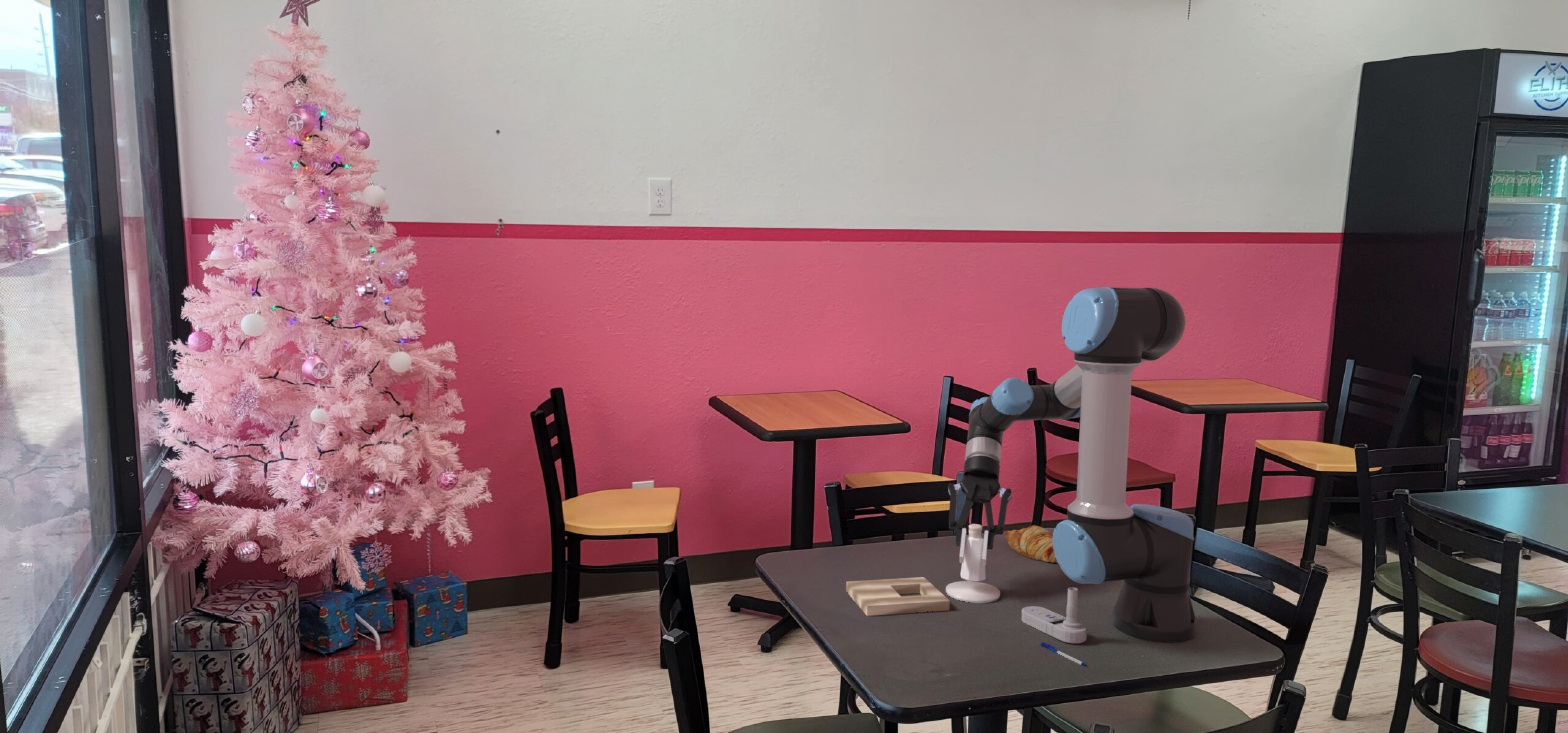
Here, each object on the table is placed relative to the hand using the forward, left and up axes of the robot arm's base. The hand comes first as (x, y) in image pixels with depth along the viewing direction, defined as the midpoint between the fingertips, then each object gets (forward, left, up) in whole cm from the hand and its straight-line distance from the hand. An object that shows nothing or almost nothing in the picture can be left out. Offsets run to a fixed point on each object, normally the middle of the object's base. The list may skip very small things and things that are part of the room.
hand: (972, 560), depth 207 cm
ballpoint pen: (-29, -5, -9) cm, 31 cm away
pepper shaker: (+3, -2, -5) cm, 6 cm away
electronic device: (-18, -9, -9) cm, 22 cm away
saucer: (+3, -2, -8) cm, 9 cm away
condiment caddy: (+2, +15, -8) cm, 17 cm away
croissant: (+25, -27, -9) cm, 38 cm away
